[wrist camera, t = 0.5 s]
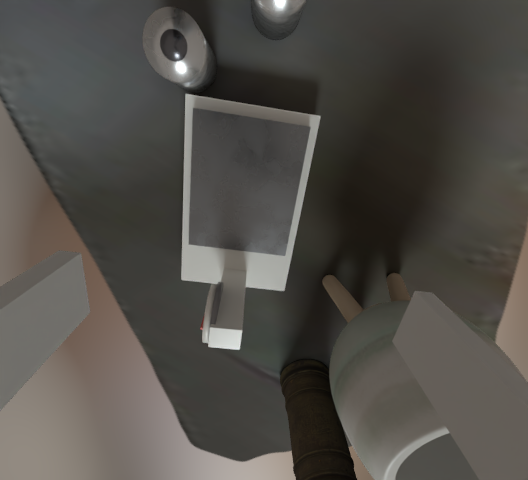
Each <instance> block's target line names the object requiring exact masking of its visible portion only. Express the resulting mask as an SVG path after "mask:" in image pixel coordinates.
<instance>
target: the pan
mask: <svg viewBox="0 0 528 480" xmlns="http://www.w3.org/2000/svg"><path fill="white" fill-rule="evenodd" d="M310 128H311V127H309V126H303V125H297V124H290V123H284V122H278V121H272V120H266V119H259V118H253V117H247V116H241V115H235V114H228V113H222V112H216V111H210V110H204V109H197V108H193V121H192V152H191V183H190V213H189V244H188V245H197V246H205V247H213V248H222V249H230V250H239V251H247V252H255V253H264V254H272V255H280V256H285V255H286V250H287V245H288V239H289V234H290V229H291V224H292V219H293V214H294V209H295V204H296V199H297V194H298V189H299V184H300V179H301V174H302V169H303V164H304V159H305V153H306V148H307V143H308V138H309V133H310Z"/></svg>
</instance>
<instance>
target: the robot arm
mask: <svg viewBox="0 0 528 480" xmlns="http://www.w3.org/2000/svg"><path fill="white" fill-rule="evenodd" d="M89 313H90V308H89V301H88V295H87V289H86V282H85V276H84V270H83V264H82V257H81V253H77V252H68V251H58V252H56V253H54V254H53V255H51V256H49V257H48V258H46V259H45V260H43V261H41V262H40V263H38V264H37V265H35V266H33V267H32V268H30V269H28V270H27V271H25V272H23V273H22V274H20V275H19V276H17V277H15V278H14V279H12V280H11V281H9V282H7V283H6V284H4V285H2V286H1V287H0V411H1V410H2V408H3V407H4V406H5V405H6V404H7V403H8V402H9V401H10V400H11V399H12V398H13V396H14V395H15V394H16V393H17V392H18V391H19V390H20V389H21V388H22V386H23V385H24V384H25V383H26V382H27V381H28V380H29V379H30V378H31V377H32V376H33V374H34V373H35V372H36V371H37V370H38V369H39V368H40V367H41V366H42V365H43V363H44V362H45V361H46V360H47V359H48V358H49V357H50V356H51V355H52V354H53V352H54V351H55V350H56V349H57V348H58V347H59V346H60V345H61V344H62V343H63V342H64V340H65V339H66V338H67V337H68V336H69V335H70V334H71V333H72V332H73V330H74V329H75V328H76V327H77V326H78V325H79V324H80V323H81V321H83V320H84V318H85V317H86V316H87V315H88V314H89ZM392 342H393V344H394V345H395V347H396V348H397V350H398V352H399V353H400V355H401V356H402V358H403V359H404V361H405V363H406V364H407V366H408V367H409V369H410V371H411V372H412V374H413V375H414V377H415V378H416V380H417V382H418V383H419V385H420V386H421V388H422V390H423V391H424V393H425V394H426V396H427V398H428V399H429V401H430V402H431V404H432V405H433V407H434V409H435V410H436V412H437V413H438V415H439V417H440V418H441V420H442V421H443V423H444V425H445V426H446V428H447V429H448V431H449V432H450V434H451V436H452V437H453V439H454V440H455V442H456V444H457V445H458V447H459V448H460V450H461V451H462V453H463V455H464V456H465V458H466V459H467V461H468V463H469V464H470V466H471V467H472V469H473V471H474V472H475V474H476V475H477V477H478V478H479V480H528V382H527V381H525V380H524V379H523V378H522V377H521V376H520V375H519V374H518V373H517V372H516V371H515V370H514V369H513V368H512V367H511V366H510V365H509V364H507V363H506V362H505V361H504V360H503V359H502V358H501V357H500V356H499V355H498V354H497V353H496V352H495V351H494V350H493V349H492V348H490V347H489V346H488V345H487V344H486V343H485V342H484V341H483V340H482V339H481V338H480V337H479V336H478V335H477V334H476V333H475V332H473V331H472V330H471V329H470V328H469V327H468V326H467V325H466V324H465V323H464V322H463V321H462V320H461V319H460V318H459V317H458V316H457V315H455V314H454V313H453V312H452V311H451V310H450V309H449V308H448V307H447V306H446V305H445V304H444V303H443V302H442V301H441V300H440V299H438V298H437V297H436V296H435V295H434V294H433V293H429V292H420V291H415V292H414V294H413V296H412V299H411V301H410V303H409V305H408V307H407V310H406V312H405V314H404V316H403V318H402V321H401V323H400V325H399V327H398V329H397V332H396V334H395V336H394V338H393V340H392Z"/></svg>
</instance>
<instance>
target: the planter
mask: <svg viewBox="0 0 528 480" xmlns="http://www.w3.org/2000/svg"><path fill="white" fill-rule="evenodd" d="M322 283H323V285H324V287H325V289H326V290H327V292H328V293H329V295H330V296H331V298H332V299H333V301H334V302H335V304H336V306H337V307H338V309H339V310H340V312H341V313H342V315H343V316H344V318H345V320H346V321H347V323H348V324H347V325H346V326H345V327H344V329H343V330H342V332H341V333H340V335H339V336H338V338H337V340H336V343H335V345H334V348H333V351H332V354H331V359H330V367H329V378H330V387H331V392H332V397H333V401H334V404H335V408H336V410H337V413H338V416H339V419H340V421H341V423H342V426H343V428H344V430H345V432H346V435H347V437H348V439H349V440H350V442H351V444H352V446H353V448H354V450H355V451H356V453H357V455H358V457H359V458H360V460H361V461H362V463H363V464H364V466H365V467H366V469H367V470H368V472H369V473H370V474H371V476H372V477H373V478H374V480H479V478H478V477H477V475H476V474H475V472H474V471H473V469H472V467H471V466H470V464H469V463H468V461H467V459H466V458H465V456H464V455H463V453H462V451H461V450H460V448H459V447H458V445H457V444H456V442H455V440H454V439H453V437H452V436H451V434H450V432H449V431H448V429H447V428H446V426H445V425H444V423H443V421H442V420H441V418H440V417H439V415H438V413H437V412H436V410H435V409H434V407H433V405H432V404H431V402H430V401H429V399H428V398H427V396H426V394H425V393H424V391H423V390H422V388H421V386H420V385H419V383H418V382H417V380H416V378H415V377H414V375H413V374H412V372H411V371H410V369H409V367H408V366H407V364H406V363H405V361H404V359H403V358H402V356H401V355H400V353H399V352H398V350H397V348H396V347H395V345H394V344H393V342H392V340H393V338H394V336H395V334H396V332H397V329H398V327H399V325H400V323H401V321H402V318H403V316H404V314H405V312H406V310H407V307H408V305H409V303H410V301H411V298H410V296H409V294H408V291H407V289H406V286H405V284H404V281H403V279H402V278H401V276H400V275H399V274H397V273H392V274H390V275H388V277H387V285H388V289H389V294H390V298H391V302H385V303H380V304H376V305H373V306H371V307H368V308H366V309H364V310H363V308H362V307H361V306H360V305H359V304H358V303H357V301H356V300H355V299H354V298H353V297H352V296H351V294H350V293H349V292H348V291H347V290H346V289H345V288H344V286H343V285H342V284H341V283H340V282H339V281H338V280H337V279H336V277H335V276H333V275H327V276H325V277H324V278H323V280H322ZM453 313H454V312H453ZM454 314H455V315H457V316H458V317H459V318H460V319H461V320H462V321H463V322H464V323H465V324H466V325H467V326H468V327H469V328H470V329H471V330H472V331H473V332H475V333H476V334H477V335H478V336H479V337H480V338H481V339H482V340H483V341H484V342H485V343H486V344H487V345H488V346H489V347H490V348H492V349H493V350H494V351H495V352H496V353H497V354H498V355H499V356H500V357H501V358H502V359H503V360H504V361H505V362H506V363H507V364H509V365H510V366H511V367H512V368H513V369H514V370H515V371H516V372H517V373H518V374H519V375H520V376H521V377H522V378H523V379H524V380H525V378H524V377H523V375H522V374H521V373H520V371H519V370H518V369H517V367H516V366H515V365H514V363H513V362H512V361H511V360H510V359H509V357H508V356H507V355H506V354H505V353H504V352H503V351H502V350H501V349H500V347H498V345H497V344H496V343H495V342H494V341H493V340H492V339H491V338H489V337H488V336H487V335H486V334H485V333H484V332H483V331H481V330H480V329H479V328H478V327H476V326H475V325H474V324H472V323H471V322H469V321H468V320H466V319H465V318H463V317H462V316H460V315H458V314H456V313H454ZM525 381H526V380H525Z"/></svg>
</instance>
